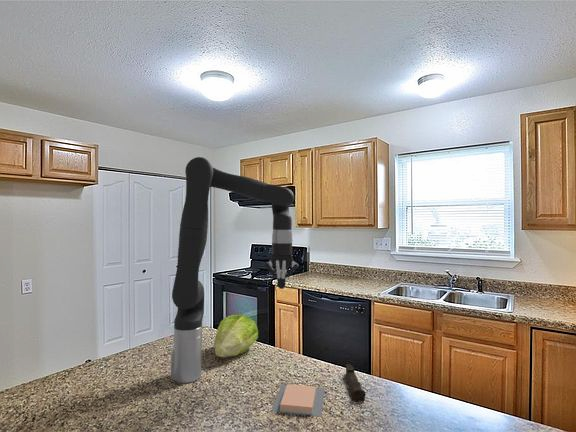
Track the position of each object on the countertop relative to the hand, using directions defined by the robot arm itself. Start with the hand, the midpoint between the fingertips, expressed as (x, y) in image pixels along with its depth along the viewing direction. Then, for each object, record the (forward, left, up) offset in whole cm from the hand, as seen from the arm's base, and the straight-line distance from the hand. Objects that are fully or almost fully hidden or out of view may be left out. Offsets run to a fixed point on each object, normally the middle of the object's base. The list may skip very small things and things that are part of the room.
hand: (281, 288), depth 125 cm
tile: (+10, -18, -27) cm, 34 cm away
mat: (+10, -23, -29) cm, 38 cm away
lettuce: (-22, +9, -29) cm, 38 cm away
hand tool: (+25, -11, -29) cm, 40 cm away
